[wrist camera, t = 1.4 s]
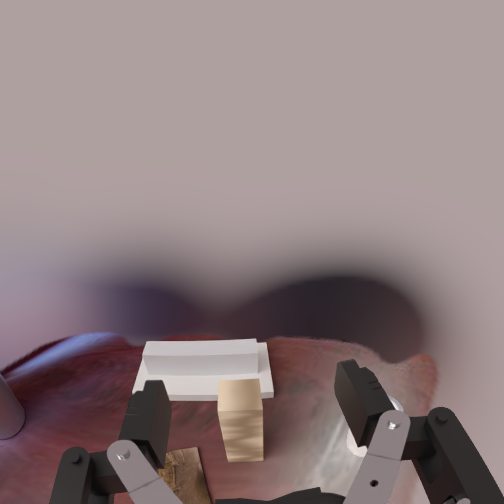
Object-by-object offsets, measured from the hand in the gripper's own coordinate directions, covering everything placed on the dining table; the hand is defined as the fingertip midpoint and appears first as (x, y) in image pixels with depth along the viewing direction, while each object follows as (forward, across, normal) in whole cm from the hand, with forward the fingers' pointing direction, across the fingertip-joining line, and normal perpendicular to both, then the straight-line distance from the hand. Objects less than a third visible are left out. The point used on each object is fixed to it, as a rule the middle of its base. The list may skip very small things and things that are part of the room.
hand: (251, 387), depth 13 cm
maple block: (+14, +1, +26) cm, 29 cm away
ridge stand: (+29, +7, +24) cm, 39 cm away
